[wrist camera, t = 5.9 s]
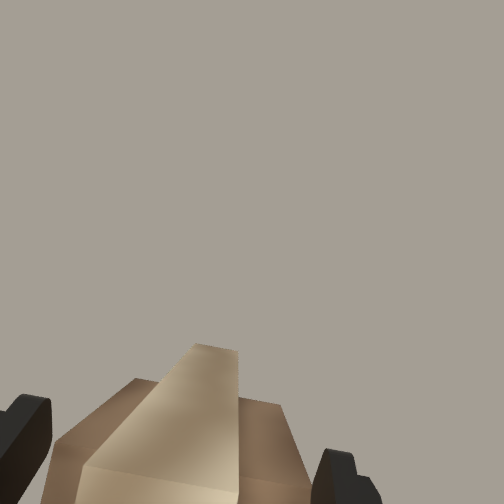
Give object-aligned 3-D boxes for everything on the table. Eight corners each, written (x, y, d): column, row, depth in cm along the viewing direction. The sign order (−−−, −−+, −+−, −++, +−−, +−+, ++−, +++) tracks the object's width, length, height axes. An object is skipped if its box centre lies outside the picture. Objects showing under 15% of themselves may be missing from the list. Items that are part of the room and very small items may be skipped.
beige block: (44, 636, 7) (83, 465, 8) (186, 387, 27) (195, 343, 27) (207, 666, 7) (238, 493, 8) (229, 395, 27) (238, 351, 27)
